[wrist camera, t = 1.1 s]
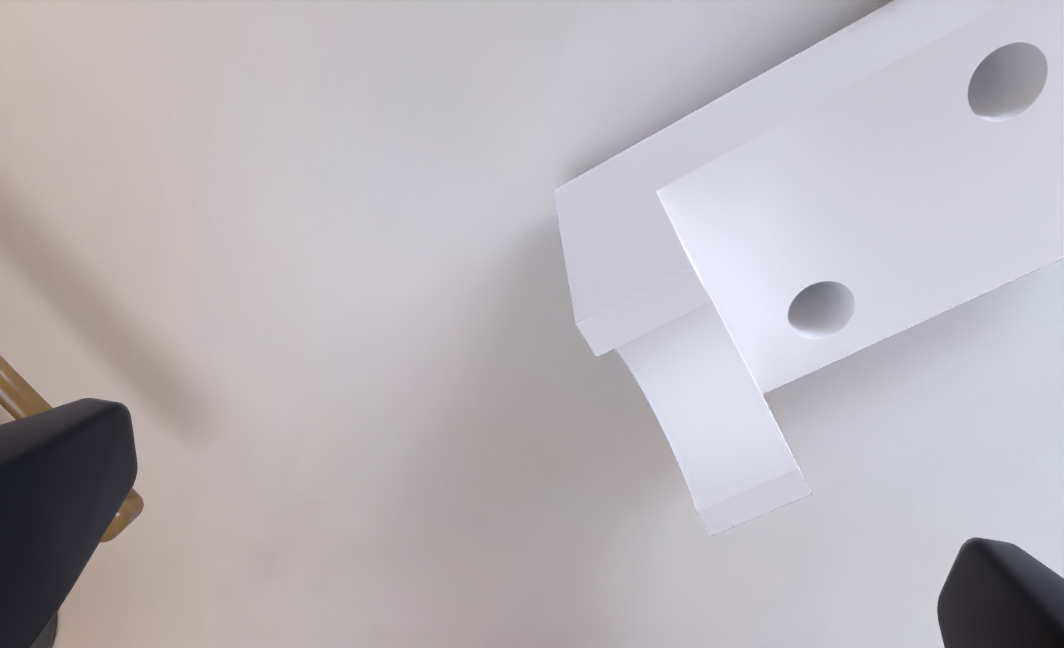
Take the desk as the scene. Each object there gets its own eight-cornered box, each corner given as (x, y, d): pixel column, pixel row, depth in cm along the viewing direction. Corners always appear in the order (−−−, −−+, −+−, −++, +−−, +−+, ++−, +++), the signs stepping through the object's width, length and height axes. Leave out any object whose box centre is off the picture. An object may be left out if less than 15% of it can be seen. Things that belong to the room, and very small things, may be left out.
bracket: (657, 364, 25) (711, 536, 19) (552, 190, 22) (575, 324, 16) (1058, 172, 22) (1287, 296, 16) (1006, -63, 19) (1267, -27, 13)
